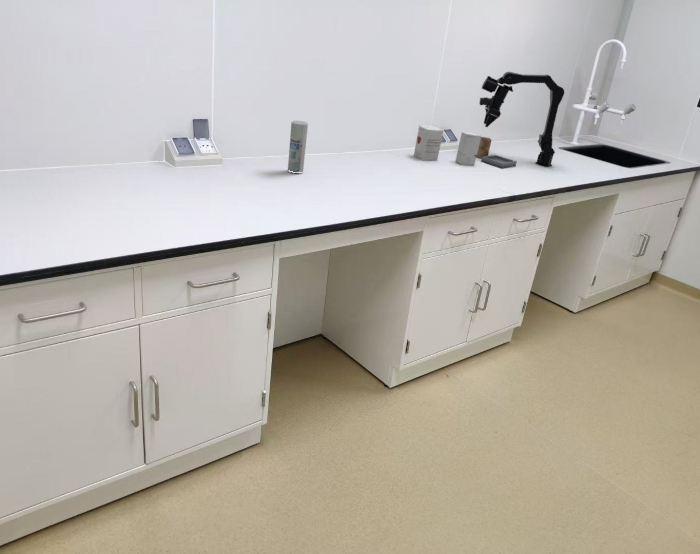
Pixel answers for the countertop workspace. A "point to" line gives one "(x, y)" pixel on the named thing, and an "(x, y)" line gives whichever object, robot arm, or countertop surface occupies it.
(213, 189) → the countertop surface
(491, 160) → the grey tray
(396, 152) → the countertop surface
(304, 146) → the spray can
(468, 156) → the skincare box
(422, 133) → the supplement box
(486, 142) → the walnut block
